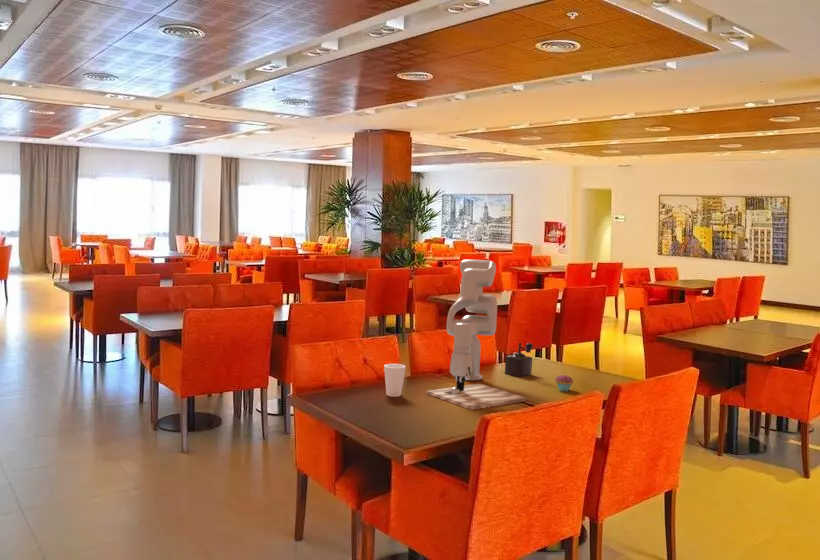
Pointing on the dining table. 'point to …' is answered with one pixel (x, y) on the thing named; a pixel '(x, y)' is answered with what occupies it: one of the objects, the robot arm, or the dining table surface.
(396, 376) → the foam cup
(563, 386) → the cupcake
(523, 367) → the coffee grinder
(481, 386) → the maple board
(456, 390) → the steel ball
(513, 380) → the dining table surface
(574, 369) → the dining table surface
